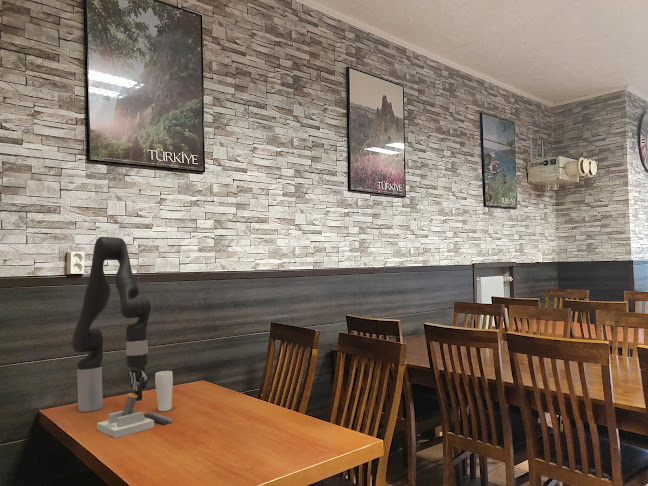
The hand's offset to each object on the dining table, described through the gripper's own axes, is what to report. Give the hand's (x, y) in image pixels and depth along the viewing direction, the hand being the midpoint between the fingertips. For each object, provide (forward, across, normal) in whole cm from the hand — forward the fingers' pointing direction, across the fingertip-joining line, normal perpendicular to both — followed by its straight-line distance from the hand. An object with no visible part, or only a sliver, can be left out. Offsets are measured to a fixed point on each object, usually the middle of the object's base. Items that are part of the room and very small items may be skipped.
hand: (138, 400), depth 180 cm
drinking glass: (+9, -11, +16) cm, 22 cm away
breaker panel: (+9, 0, -5) cm, 10 cm away
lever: (+5, 0, -5) cm, 7 cm away
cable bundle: (+9, 0, +7) cm, 12 cm away
